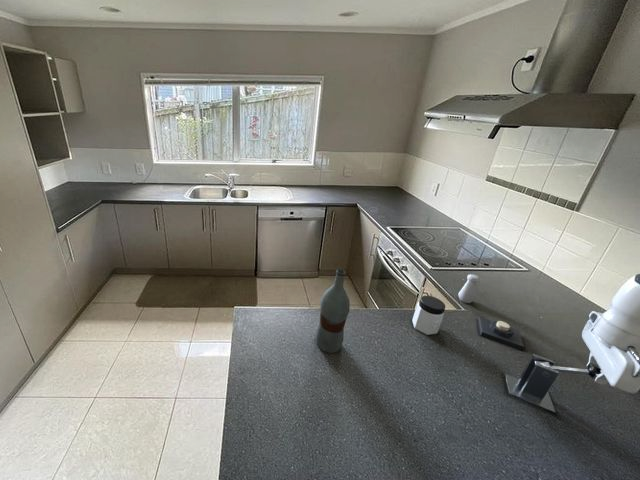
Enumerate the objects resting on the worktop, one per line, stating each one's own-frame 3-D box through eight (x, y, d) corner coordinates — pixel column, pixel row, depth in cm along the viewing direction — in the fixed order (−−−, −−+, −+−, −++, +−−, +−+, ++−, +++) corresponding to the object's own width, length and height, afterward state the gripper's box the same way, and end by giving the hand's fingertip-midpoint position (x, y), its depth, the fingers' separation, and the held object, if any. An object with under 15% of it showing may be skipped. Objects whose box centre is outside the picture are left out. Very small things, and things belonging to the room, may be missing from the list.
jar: (422, 336, 103) (431, 310, 99) (406, 321, 111) (414, 296, 106) (442, 333, 105) (452, 307, 101) (425, 318, 112) (434, 294, 108)
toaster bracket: (546, 393, 84) (565, 361, 79) (553, 415, 78) (575, 383, 73) (503, 376, 89) (519, 345, 84) (507, 395, 82) (525, 364, 78)
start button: (507, 327, 105) (509, 323, 104) (508, 332, 102) (510, 329, 101) (495, 323, 106) (496, 319, 106) (496, 328, 104) (498, 325, 103)
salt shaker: (458, 302, 123) (468, 277, 118) (455, 295, 128) (464, 271, 123) (474, 306, 121) (484, 281, 116) (470, 298, 126) (480, 274, 121)
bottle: (309, 344, 98) (320, 270, 87) (322, 330, 104) (334, 260, 93) (333, 359, 92) (348, 283, 81) (346, 344, 98) (361, 271, 87)
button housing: (516, 334, 106) (520, 325, 105) (521, 351, 99) (526, 342, 97) (477, 321, 112) (481, 313, 111) (479, 336, 104) (483, 328, 103)
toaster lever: (604, 374, 73) (602, 364, 73) (609, 384, 71) (607, 373, 70) (535, 368, 81) (533, 358, 81) (538, 375, 79) (536, 366, 78)
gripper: (669, 371, 58) (633, 415, 64) (622, 317, 74) (596, 355, 80) (624, 357, 61) (593, 400, 67) (588, 307, 77) (565, 345, 83)
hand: (594, 375), depth 73 cm, fingers closed on toaster lever, 3 cm apart
